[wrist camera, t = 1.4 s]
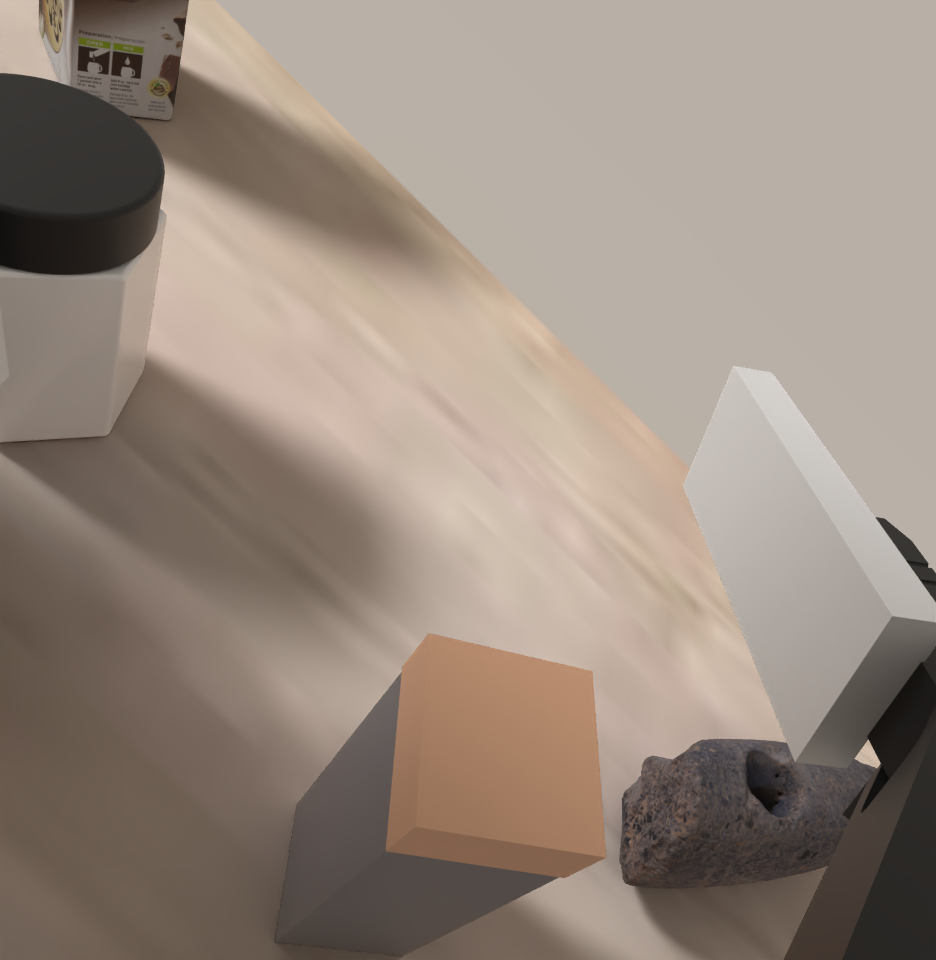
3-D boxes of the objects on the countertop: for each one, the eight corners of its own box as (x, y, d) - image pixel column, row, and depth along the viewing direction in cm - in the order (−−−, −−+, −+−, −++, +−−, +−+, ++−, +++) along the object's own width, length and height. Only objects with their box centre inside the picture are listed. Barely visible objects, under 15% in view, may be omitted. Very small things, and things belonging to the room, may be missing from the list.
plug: (272, 943, 27) (415, 827, 17) (296, 802, 30) (428, 633, 20) (402, 958, 28) (606, 857, 18) (412, 821, 31) (592, 671, 21)
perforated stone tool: (823, 773, 41) (932, 722, 36) (866, 887, 38) (992, 849, 33) (565, 774, 35) (653, 714, 30) (591, 909, 32) (694, 866, 27)
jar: (-10, 282, 39) (-21, 37, 30) (162, 344, 41) (198, 129, 32) (-117, 411, 33) (-168, 152, 24) (90, 476, 35) (110, 257, 26)
